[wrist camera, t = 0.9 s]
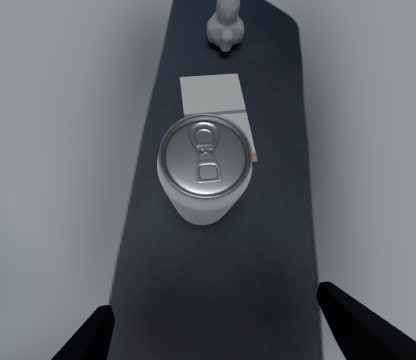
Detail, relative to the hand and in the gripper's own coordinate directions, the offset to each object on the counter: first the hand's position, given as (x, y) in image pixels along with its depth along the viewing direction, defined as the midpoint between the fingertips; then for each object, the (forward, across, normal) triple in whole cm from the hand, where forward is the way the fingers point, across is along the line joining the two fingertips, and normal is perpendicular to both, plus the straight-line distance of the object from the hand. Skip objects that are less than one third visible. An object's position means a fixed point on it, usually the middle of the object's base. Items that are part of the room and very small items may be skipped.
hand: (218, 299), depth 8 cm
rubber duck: (+30, -5, -16) cm, 35 cm away
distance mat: (+22, -3, -6) cm, 23 cm away
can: (+15, 0, +3) cm, 15 cm away
